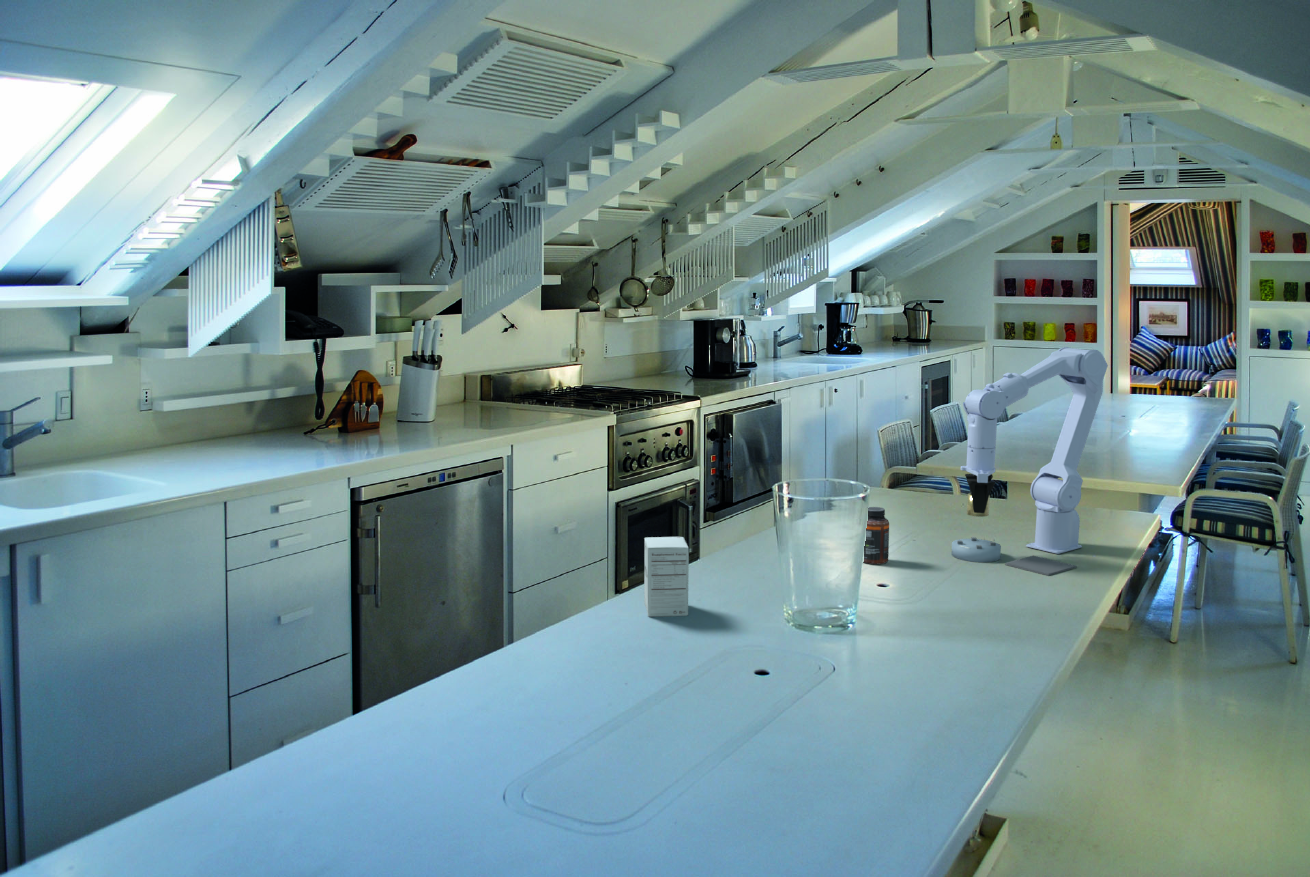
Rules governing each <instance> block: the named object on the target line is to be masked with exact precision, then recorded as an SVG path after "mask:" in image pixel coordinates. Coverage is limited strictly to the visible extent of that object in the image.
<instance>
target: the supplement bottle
mask: <svg viewBox="0 0 1310 877" xmlns="http://www.w3.org/2000/svg"><path fill="white" fill-rule="evenodd" d="M867 508H868V507H867ZM885 515H886V510H885V508H884V507H880V506H869V508H868V521H867V528H866V541H865V546H864V562H863V563H864V564H867V565H868V564H870V565H885V563H888V561H889V557H890V556H889V555H890V554H889V547H890V545H889V544H890V522H889V519H887V518H886V516H885Z"/></svg>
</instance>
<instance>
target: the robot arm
mask: <svg viewBox="0 0 1310 877" xmlns="http://www.w3.org/2000/svg"><path fill="white" fill-rule="evenodd" d="M1108 366H1109V365H1108V363H1107V361H1106V359H1105V357H1104V355H1103V353H1102V352H1101V351H1099V350H1098V349H1083V348H1074V347H1069V346H1064V347H1060V348H1059V349H1057V350H1055V351H1052V352H1051V353H1050V355H1049V356H1047V357H1046V358H1045V359H1043V360H1041V361H1040V362H1038V363H1037V364H1035V365H1033V366H1031V367H1030V368H1028V369H1027V370H1025V371H1024V372H1023V373H1017V372H1006V373H1004V374H1002V376H1003V377H1002V378H1000V379H998V380H997V381H995V382H992V383H987V384H985V387H984V388H983V389H981V388H980V389H979V388H977V389H973V390H971V391H970V392H969V393H968V394H967V396H966V397H965V400H964V402H963V403H962V407H963V410H964V412H965V413H966V415H967V416H966V417H967V418H966V421H967V423H968V425H967V444H966V445H967V446H966V449H967V450H966V462H965V463H966V465H960V468H959V469H960V471H962V472H963V471H965V472H968V473H965V474H964V477H965V478H966V482H967V484H968V487H969V493H970V492H971V495H972V504H973V510H974V513H984V512H985V510H986V506H987V502H988V498H989V495H990V494H991V493H992V490H993V489H994V487H995V485H996V481H995V480H992V479H993V477H994V475H993V474H994V473H995V472H996V467H995V466H996V465H995V463H996V451H997V450H996V446H997V430H998V429H997V427H998V423H997V422H998V418H1000V417H1001V416H1002V414H1003V412H1004V411H1005V409H1006V408H1007V407H1009V406H1011V405H1013V404H1015V403H1017V402H1019V401H1020V400H1022V399H1024V398H1026V397H1027V396H1028V393H1029V390H1030V389H1031V388H1032V387H1033V388H1034V387H1035V386H1036V385H1039V384H1041V383H1043V382H1046V381H1047V380H1050V379H1052V378H1054V377H1056V376H1059V378H1061V379H1062V380H1063V381H1064V383H1066V385H1068V386H1069V388H1070V390H1071V392H1072V394H1073V395H1072V397H1071V398H1072V399H1071V401H1070V404H1069V407H1068V410H1067V413H1066V416H1065V418H1064V422H1063V425H1062V427H1061V431H1060V434H1059V437H1058V440H1057V442H1056V445H1055V448H1054V451H1053V454H1052V458H1051V460H1050V461H1049V463H1047V464H1045V465H1043V466H1042V467H1040V469H1039V471H1038V474H1037V475H1036V477H1035V479H1033V480H1032V483H1031V484H1030V491H1029V493H1030V497H1031V498H1032V500H1033V501H1035V503H1034V505H1035V506H1036V515H1035V516H1036V520H1035V532H1034V534H1035V535H1034V542H1030V543H1028V544H1027V543H1026V545H1025V547H1027V548H1031V549H1036V550H1040V551H1044V552H1047V553H1048V552H1049V553H1053V554H1058V555H1060V554H1063V553H1066V552H1070V551H1073V550H1074V551H1075V550H1077V549H1081V548H1083V547H1082V545H1081V544H1079V539H1080V538H1079V537H1080V522H1081V520H1080V518H1081V517H1080V516H1079V513H1078V511H1077V510H1076V509H1075V508H1077V506H1079V504H1080V502H1081V499H1082V485H1083V482H1084V481H1083V477H1082V476H1081V475H1080V473H1079V472H1078V470H1077V468H1078V467H1079V464H1080V460H1081V458H1082V454H1083V451H1084V448H1085V445H1086V443H1087V439H1088V436H1089V433H1090V432H1091V428H1092V425H1093V422H1094V420H1095V416H1096V414H1097V410H1098V407H1099V404H1100V401H1101V398H1102V396H1103V388H1104V378H1105V375H1106V374H1107V373H1106V372H1107V369H1108ZM990 496H991V495H990Z"/></svg>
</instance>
